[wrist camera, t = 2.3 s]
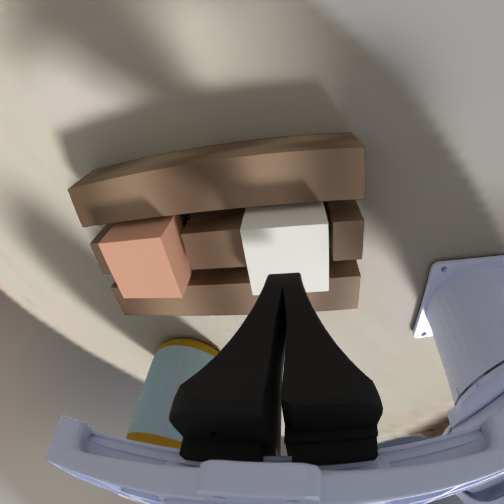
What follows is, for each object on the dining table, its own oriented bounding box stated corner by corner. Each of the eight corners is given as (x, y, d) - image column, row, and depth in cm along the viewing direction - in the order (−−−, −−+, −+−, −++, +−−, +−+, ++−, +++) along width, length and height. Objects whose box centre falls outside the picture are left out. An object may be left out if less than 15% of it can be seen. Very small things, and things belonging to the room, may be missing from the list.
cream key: (321, 195, 16) (328, 223, 14) (323, 257, 18) (328, 290, 16) (247, 201, 17) (239, 230, 14) (257, 261, 19) (252, 295, 16)
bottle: (151, 329, 26) (95, 483, 14) (227, 339, 26) (193, 511, 14) (166, 371, 30) (128, 500, 18) (231, 380, 30) (207, 519, 18)
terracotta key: (178, 209, 17) (160, 237, 15) (194, 265, 19) (182, 297, 17) (120, 217, 18) (97, 243, 15) (140, 268, 20) (123, 298, 18)
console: (351, 132, 15) (364, 147, 13) (350, 277, 21) (357, 308, 18) (92, 170, 18) (67, 189, 15) (139, 288, 23) (125, 314, 21)
